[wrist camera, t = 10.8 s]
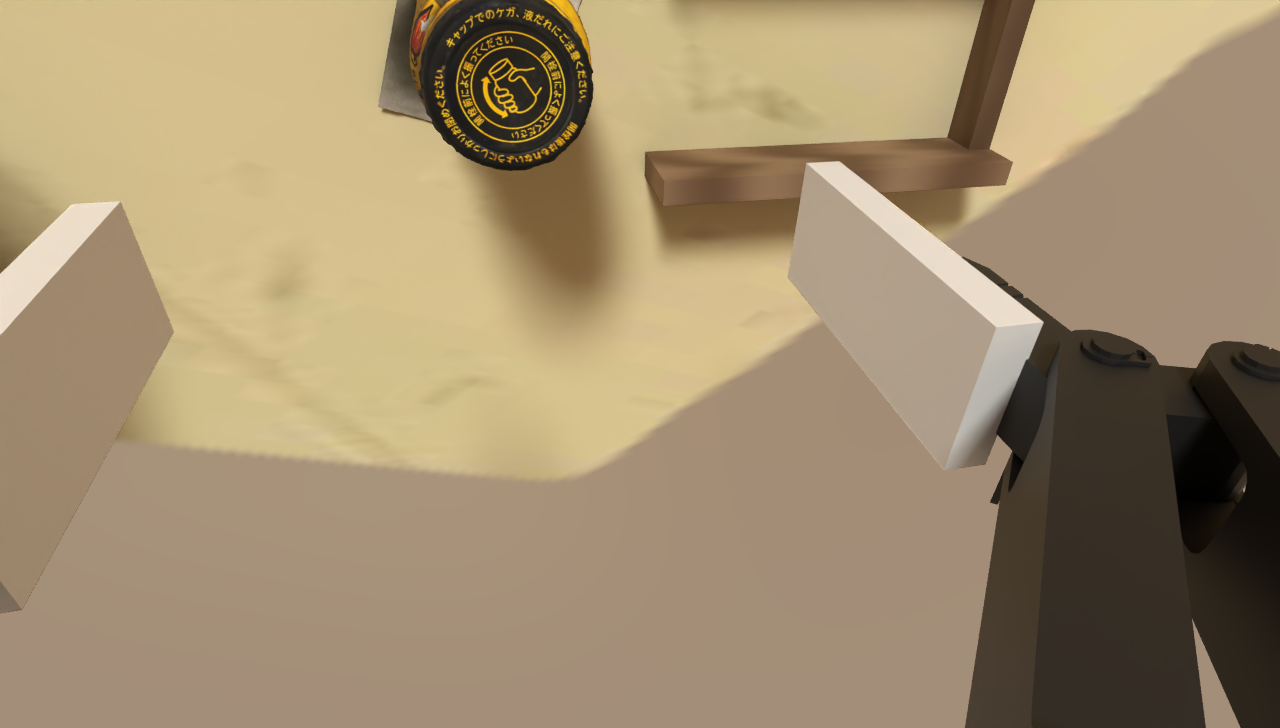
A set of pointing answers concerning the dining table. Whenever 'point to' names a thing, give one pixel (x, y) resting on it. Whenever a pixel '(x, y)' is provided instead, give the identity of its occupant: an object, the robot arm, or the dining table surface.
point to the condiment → (492, 76)
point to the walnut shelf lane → (873, 161)
